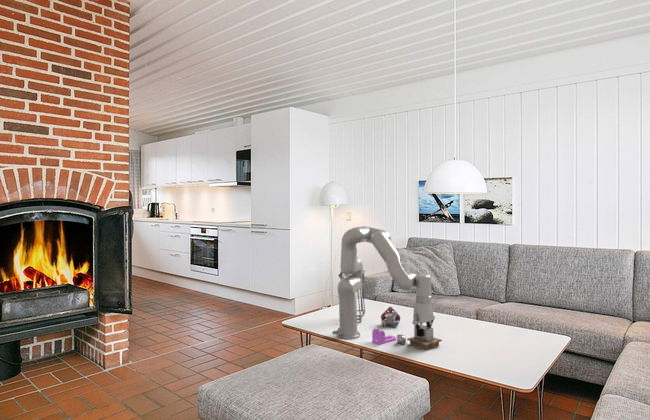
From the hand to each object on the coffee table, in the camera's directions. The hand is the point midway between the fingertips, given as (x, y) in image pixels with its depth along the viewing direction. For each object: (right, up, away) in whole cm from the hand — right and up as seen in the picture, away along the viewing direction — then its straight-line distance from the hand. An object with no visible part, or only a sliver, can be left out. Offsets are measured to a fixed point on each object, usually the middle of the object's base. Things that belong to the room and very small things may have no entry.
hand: (424, 334), depth 210 cm
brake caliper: (-11, -5, +35) cm, 37 cm away
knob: (-11, -6, +3) cm, 13 cm away
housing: (0, -2, 0) cm, 2 cm away
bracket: (-18, -6, +8) cm, 21 cm away
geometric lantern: (-33, -6, +47) cm, 57 cm away
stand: (0, -5, 0) cm, 5 cm away
